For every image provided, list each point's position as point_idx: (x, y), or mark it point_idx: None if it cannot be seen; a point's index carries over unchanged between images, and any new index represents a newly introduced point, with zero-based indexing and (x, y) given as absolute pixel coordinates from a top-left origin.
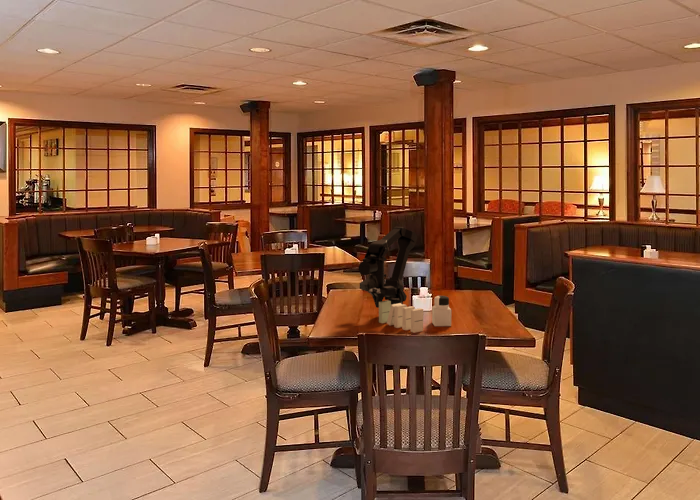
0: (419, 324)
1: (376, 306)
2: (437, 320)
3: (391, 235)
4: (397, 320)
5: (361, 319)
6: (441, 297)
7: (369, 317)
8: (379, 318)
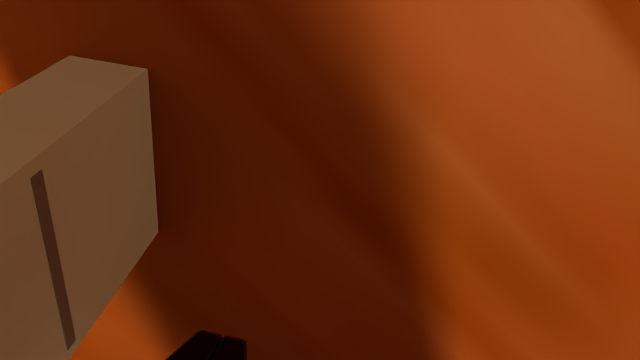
0: None
1: (218, 352)
2: None
3: None
4: None
5: (561, 29)
6: None
7: (519, 232)
8: (89, 94)
